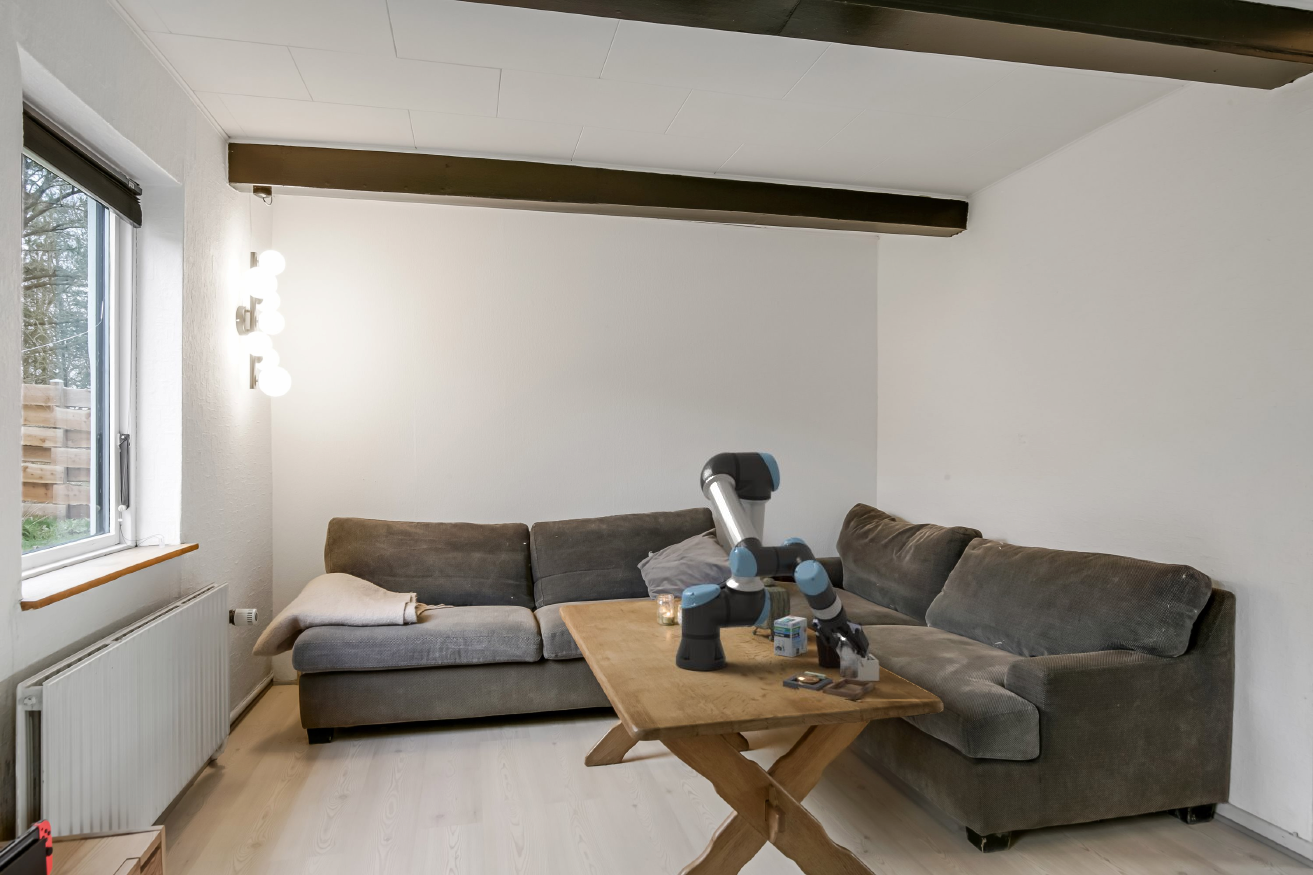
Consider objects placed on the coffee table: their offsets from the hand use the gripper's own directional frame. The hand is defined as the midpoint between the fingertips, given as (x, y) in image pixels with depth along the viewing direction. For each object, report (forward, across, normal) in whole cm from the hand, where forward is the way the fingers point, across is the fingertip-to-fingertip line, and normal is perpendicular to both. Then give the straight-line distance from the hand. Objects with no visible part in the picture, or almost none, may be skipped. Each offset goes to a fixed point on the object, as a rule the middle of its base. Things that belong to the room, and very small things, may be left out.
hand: (855, 660), depth 215 cm
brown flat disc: (+2, -12, -8) cm, 14 cm away
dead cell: (+12, -3, +3) cm, 13 cm away
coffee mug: (+16, -15, +5) cm, 23 cm away
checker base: (+2, -12, -8) cm, 15 cm away
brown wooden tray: (+3, 0, -8) cm, 8 cm away
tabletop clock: (+33, -49, +23) cm, 64 cm away
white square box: (+13, -3, +2) cm, 13 cm away
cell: (-1, 0, -5) cm, 5 cm away
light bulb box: (+23, -33, +12) cm, 42 cm away
